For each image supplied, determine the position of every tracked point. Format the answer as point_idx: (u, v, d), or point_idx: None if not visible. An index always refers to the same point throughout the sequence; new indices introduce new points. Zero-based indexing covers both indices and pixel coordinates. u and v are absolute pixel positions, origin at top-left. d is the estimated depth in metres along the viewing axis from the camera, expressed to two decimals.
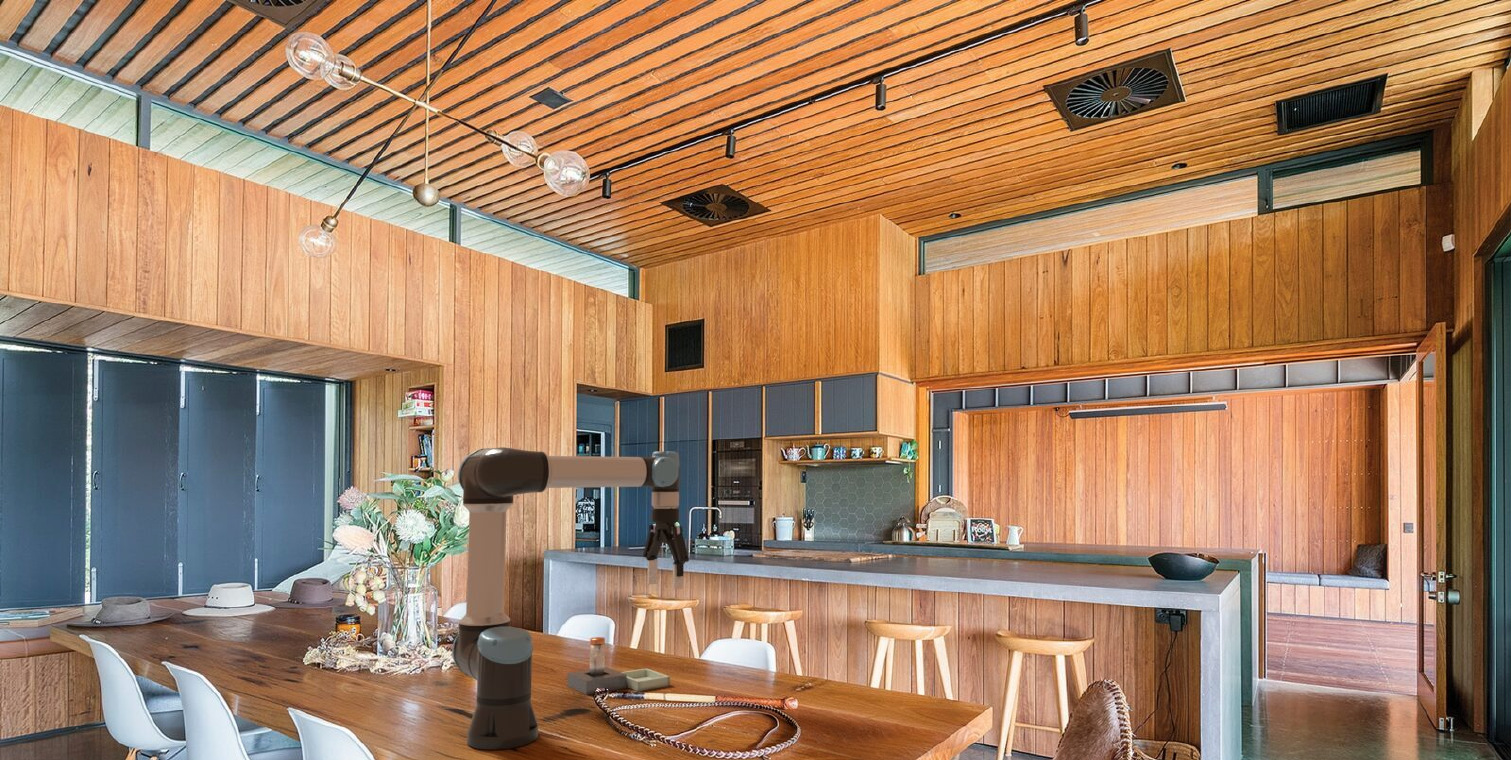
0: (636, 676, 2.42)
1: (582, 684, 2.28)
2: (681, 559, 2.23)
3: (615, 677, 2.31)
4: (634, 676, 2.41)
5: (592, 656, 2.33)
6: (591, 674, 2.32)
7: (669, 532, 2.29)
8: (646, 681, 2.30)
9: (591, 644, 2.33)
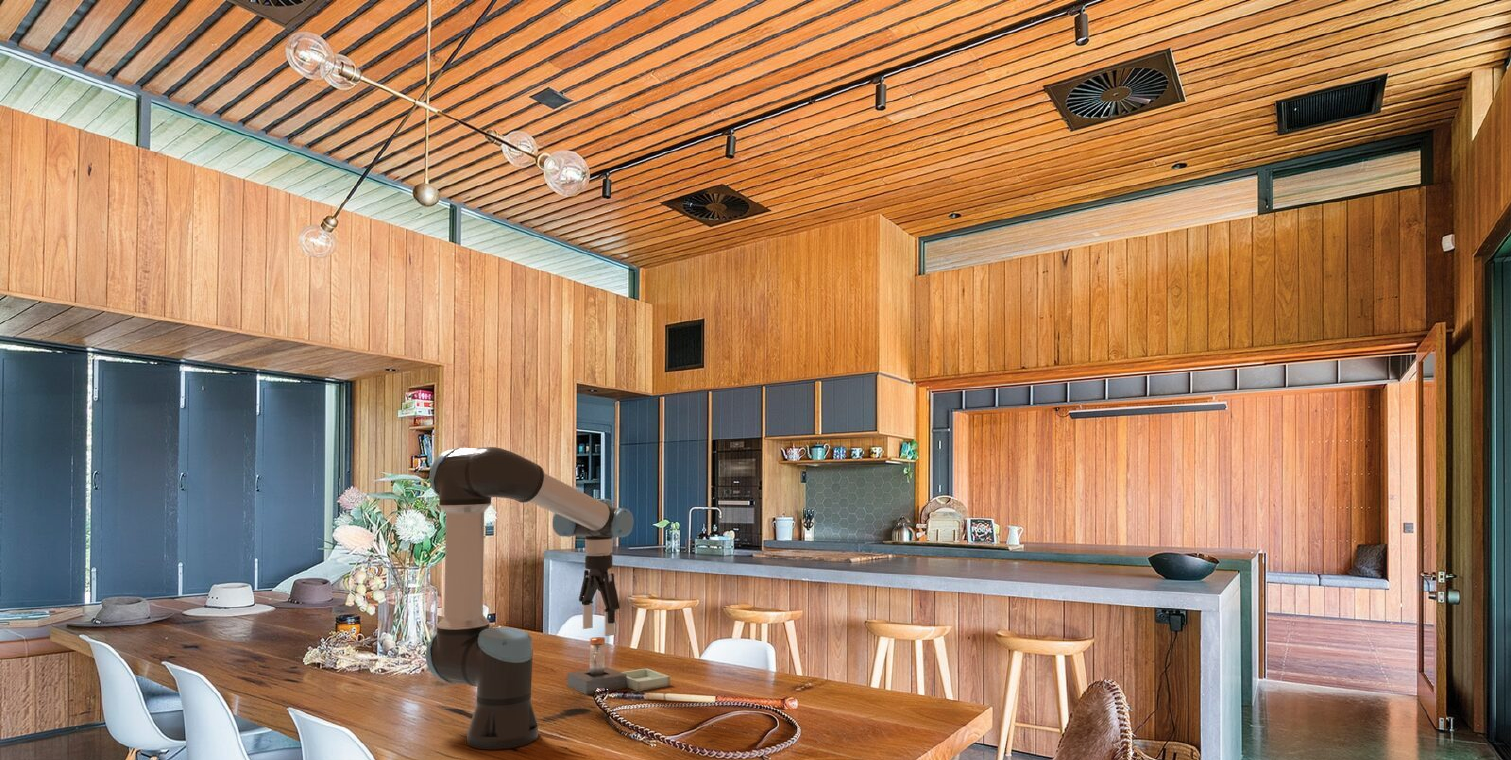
0: (636, 676, 2.42)
1: (582, 684, 2.28)
2: (612, 607, 2.28)
3: (615, 677, 2.31)
4: (634, 676, 2.41)
5: (592, 656, 2.33)
6: (591, 674, 2.32)
7: (601, 579, 2.33)
8: (646, 681, 2.30)
9: (591, 644, 2.33)
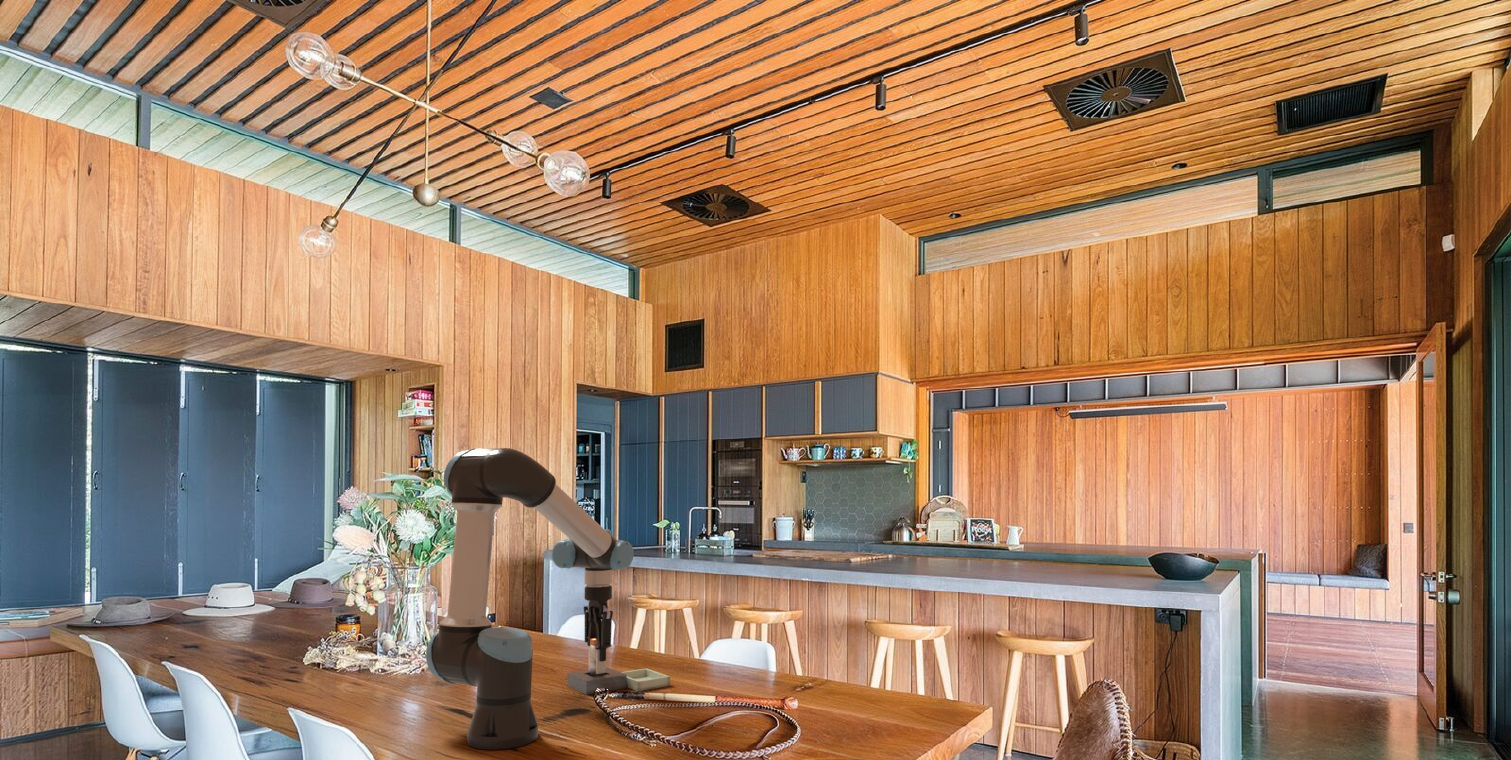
0: (636, 676, 2.42)
1: (582, 684, 2.28)
2: (603, 646, 2.30)
3: (615, 677, 2.31)
4: (634, 676, 2.41)
5: (592, 656, 2.33)
6: (591, 674, 2.32)
7: (601, 611, 2.32)
8: (646, 681, 2.30)
9: (591, 644, 2.33)
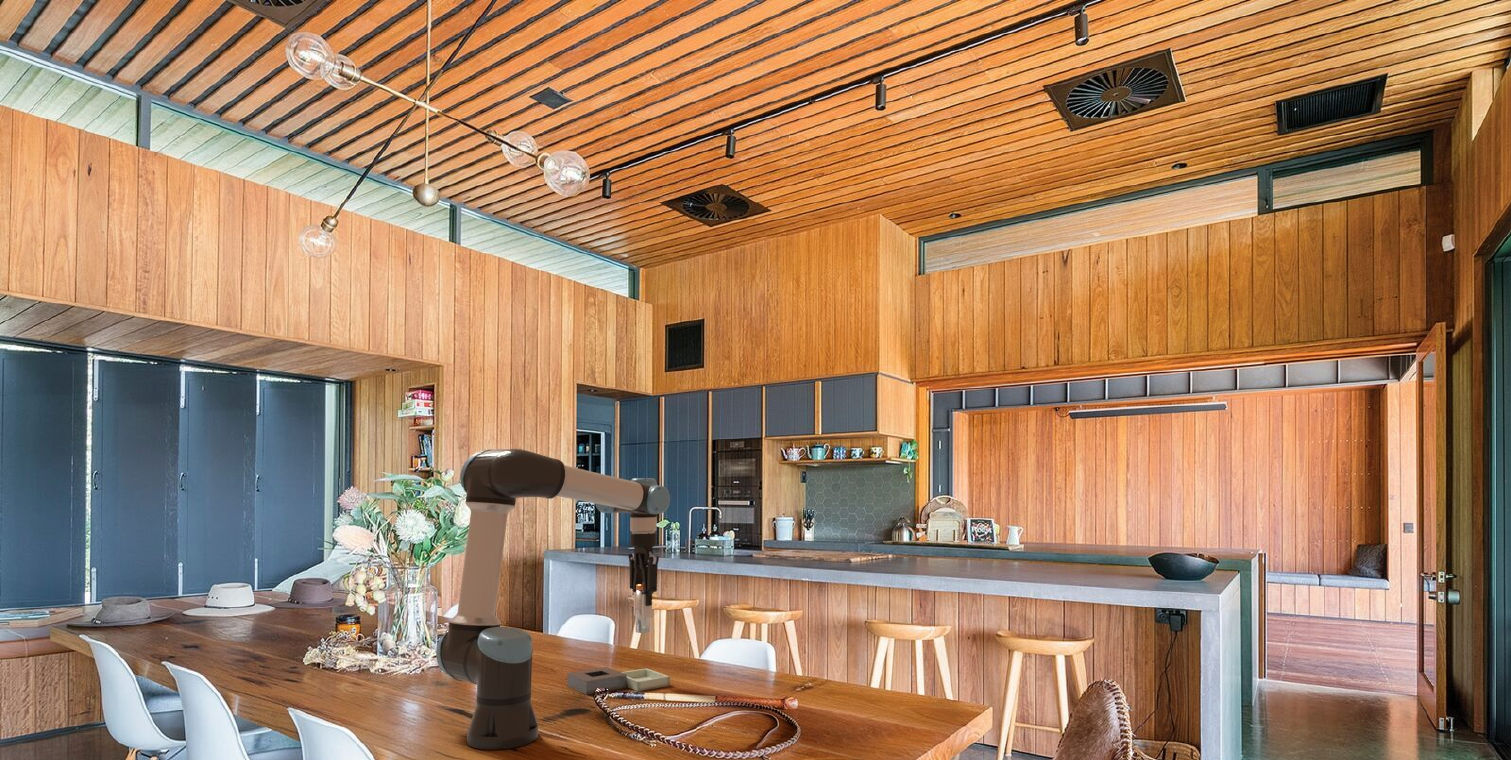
0: (636, 676, 2.42)
1: (582, 684, 2.28)
2: (649, 590, 2.34)
3: (615, 677, 2.31)
4: (634, 676, 2.41)
5: (638, 601, 2.37)
6: (637, 619, 2.37)
7: (647, 556, 2.37)
8: (646, 681, 2.30)
9: (637, 589, 2.38)
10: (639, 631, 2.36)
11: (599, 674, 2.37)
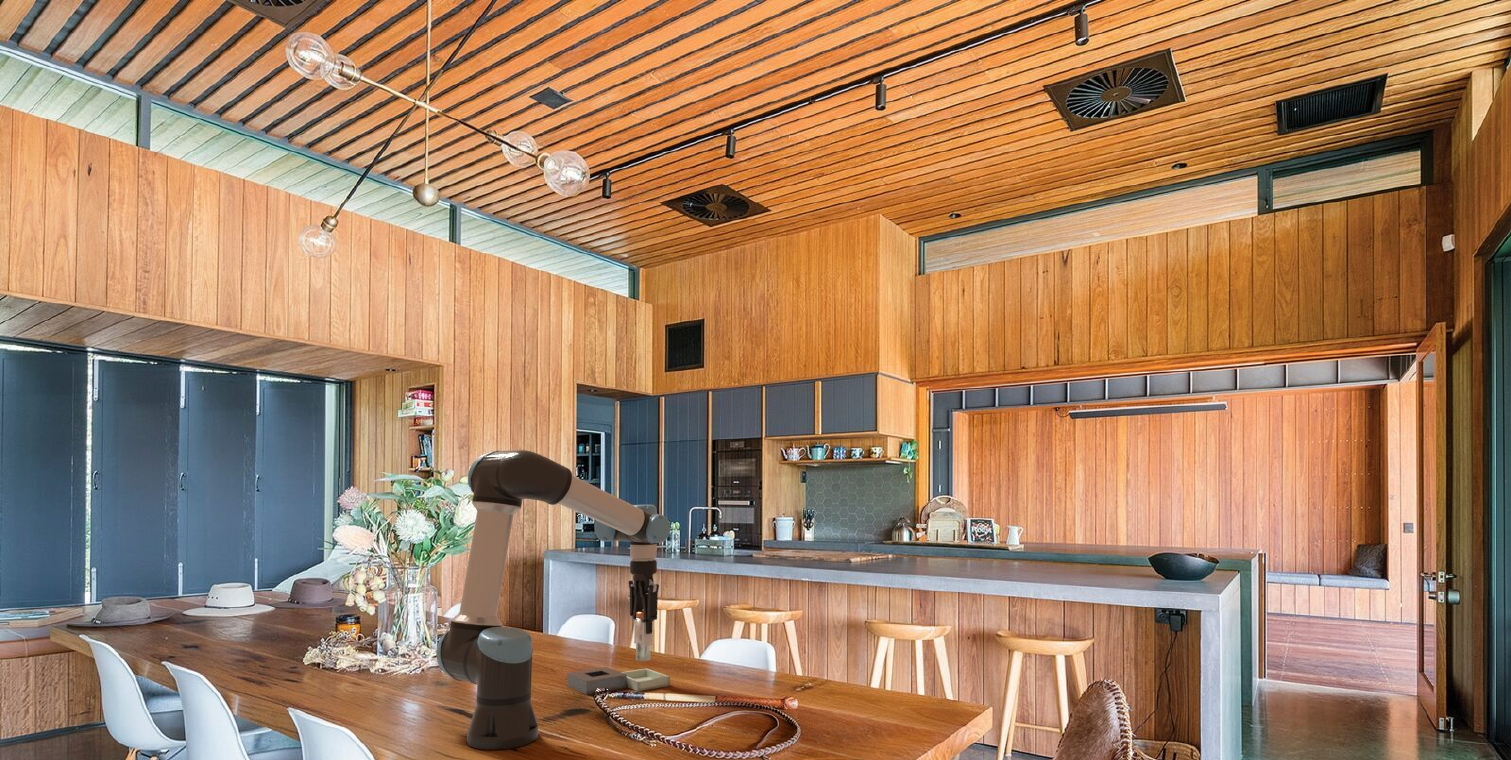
0: (636, 676, 2.42)
1: (582, 684, 2.28)
2: (650, 618, 2.34)
3: (615, 677, 2.31)
4: (634, 676, 2.41)
5: (638, 629, 2.36)
6: (638, 647, 2.36)
7: (647, 584, 2.36)
8: (646, 681, 2.30)
9: (637, 617, 2.37)
10: (639, 659, 2.35)
11: (599, 674, 2.37)
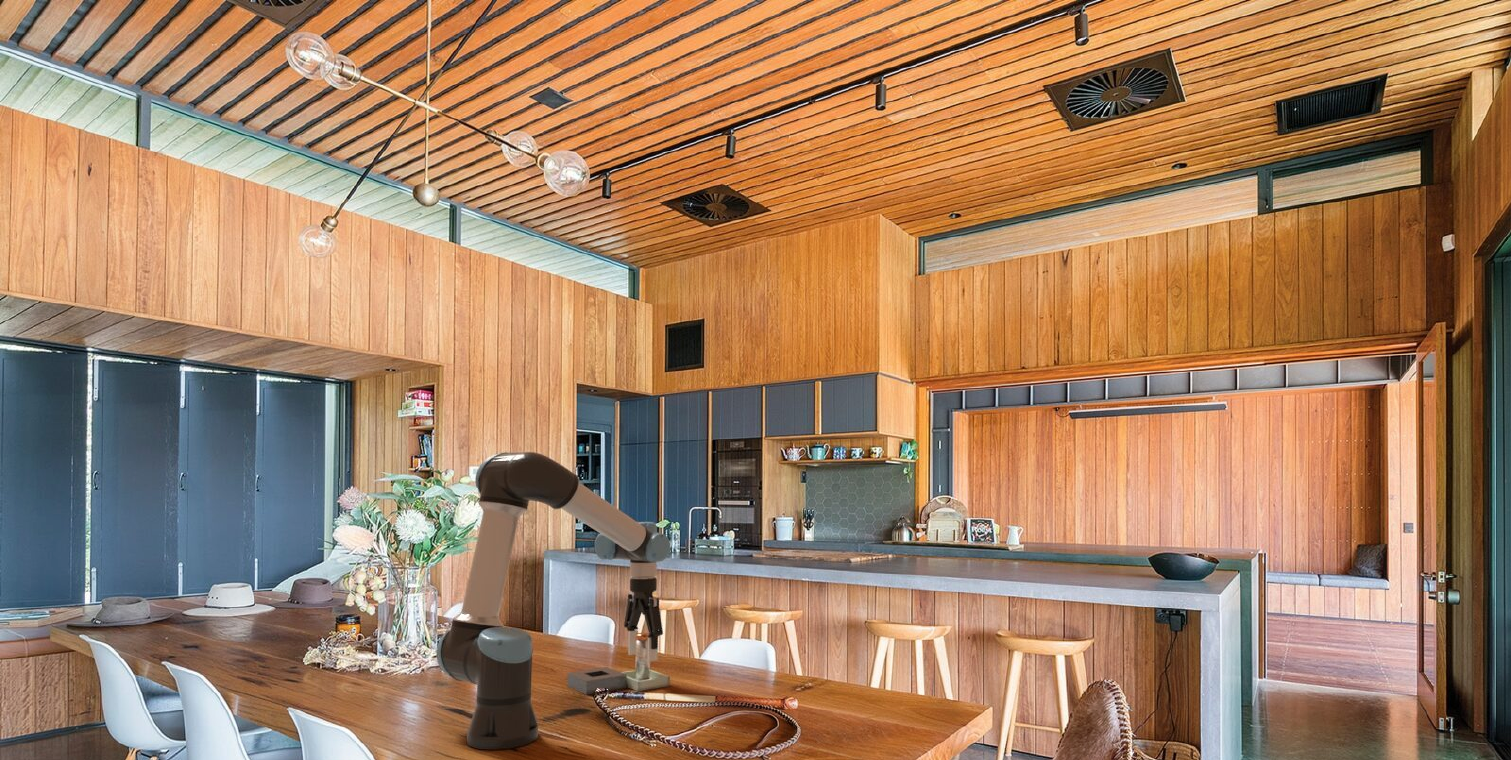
0: None
1: (582, 684, 2.28)
2: (655, 633, 2.30)
3: (615, 677, 2.31)
4: (634, 676, 2.41)
5: (638, 651, 2.36)
6: (637, 669, 2.35)
7: (646, 602, 2.35)
8: (646, 681, 2.30)
9: (637, 639, 2.36)
10: None
11: (599, 674, 2.37)
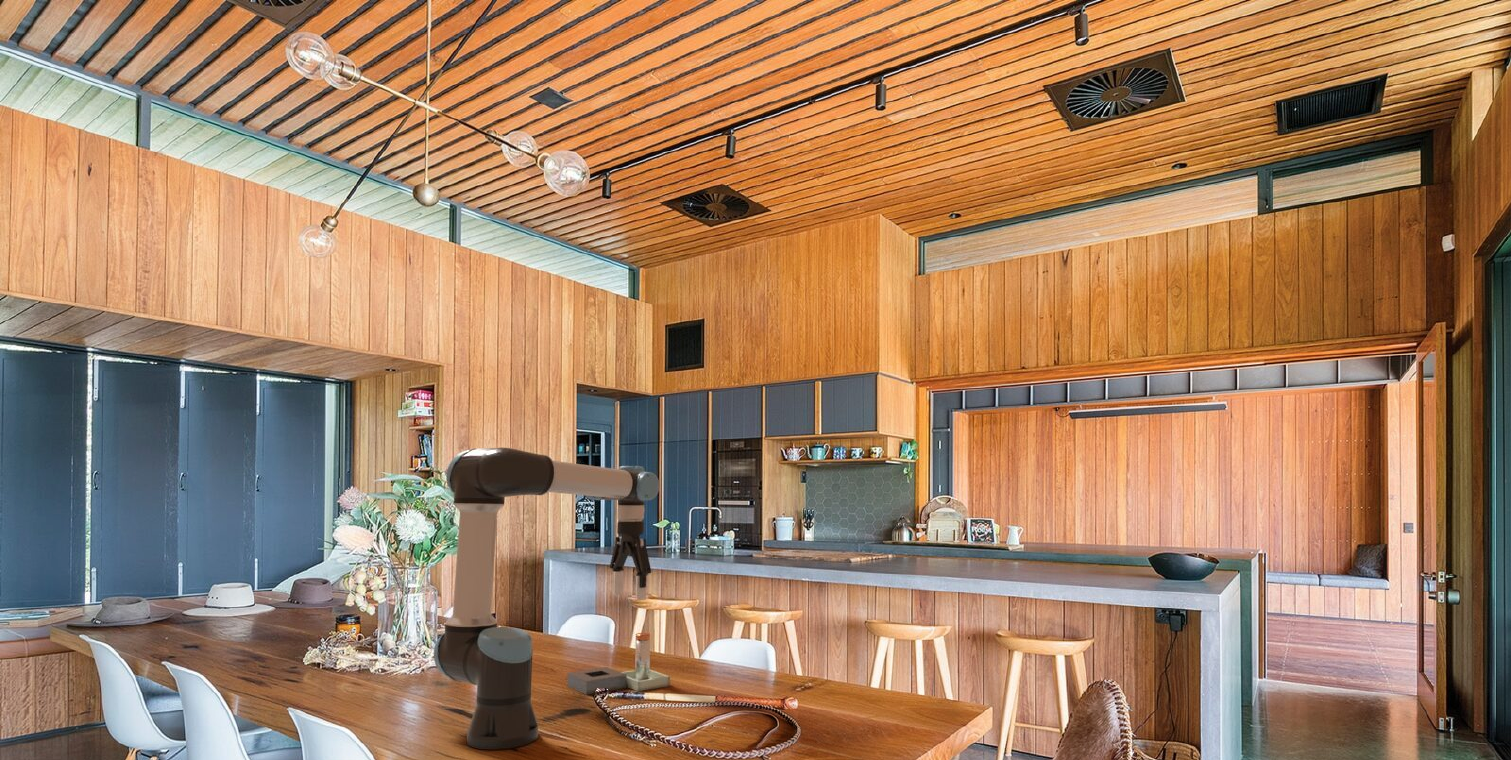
0: None
1: (582, 684, 2.28)
2: (643, 571, 2.30)
3: (615, 677, 2.31)
4: (634, 676, 2.41)
5: (638, 651, 2.36)
6: (637, 669, 2.35)
7: (633, 544, 2.36)
8: (646, 681, 2.30)
9: (637, 639, 2.36)
10: None
11: (599, 674, 2.37)
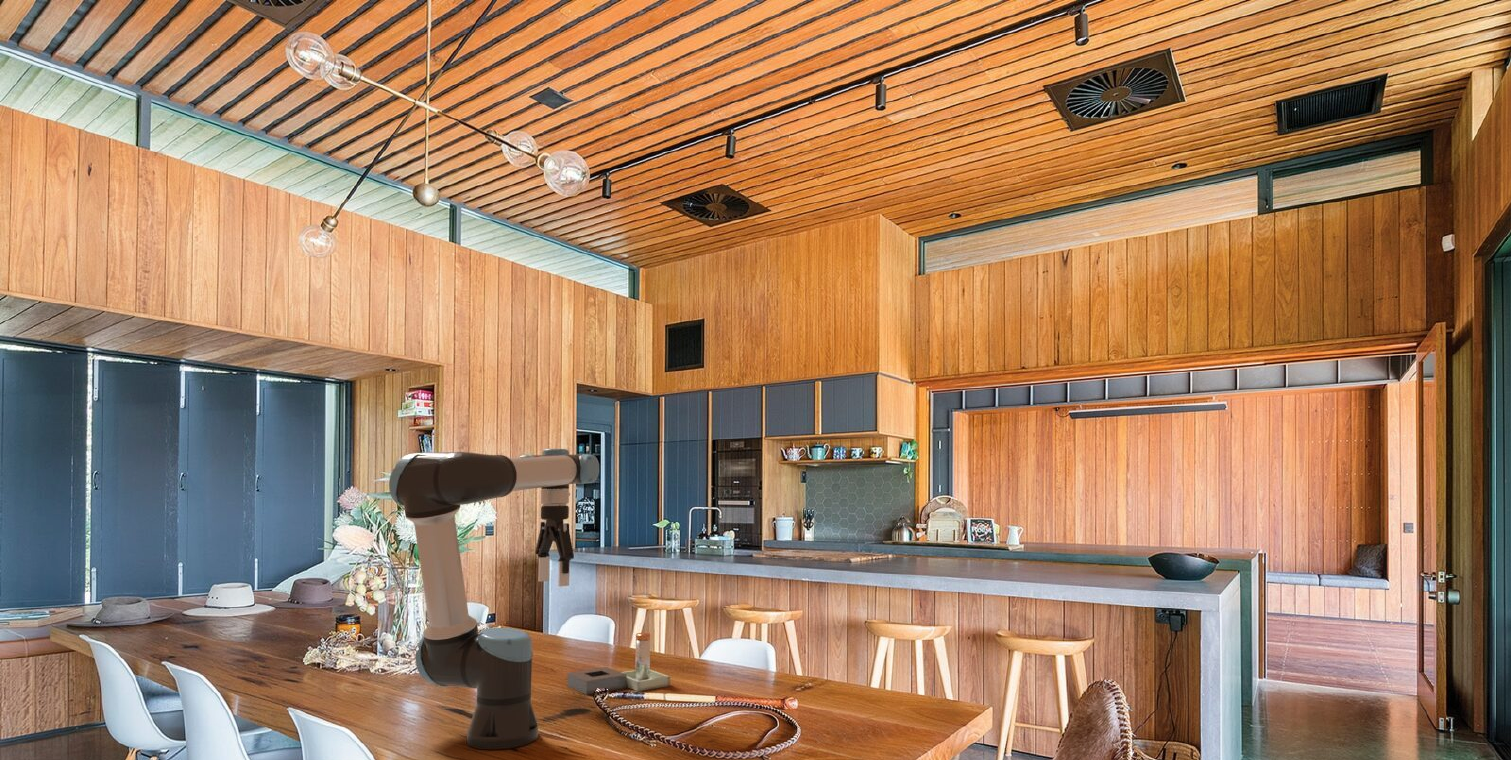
0: None
1: (582, 684, 2.28)
2: (566, 556, 2.23)
3: (615, 677, 2.31)
4: (634, 676, 2.41)
5: (638, 651, 2.36)
6: (637, 669, 2.35)
7: (557, 529, 2.29)
8: (646, 681, 2.30)
9: (637, 639, 2.36)
10: None
11: (599, 674, 2.37)
